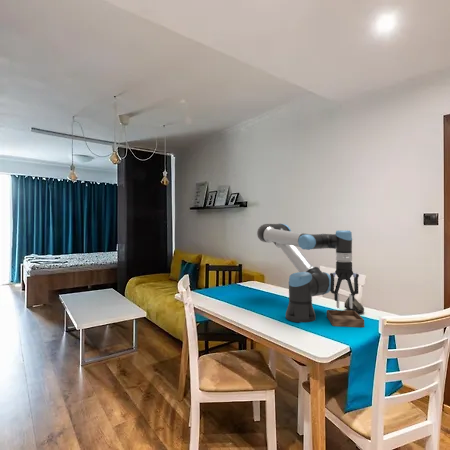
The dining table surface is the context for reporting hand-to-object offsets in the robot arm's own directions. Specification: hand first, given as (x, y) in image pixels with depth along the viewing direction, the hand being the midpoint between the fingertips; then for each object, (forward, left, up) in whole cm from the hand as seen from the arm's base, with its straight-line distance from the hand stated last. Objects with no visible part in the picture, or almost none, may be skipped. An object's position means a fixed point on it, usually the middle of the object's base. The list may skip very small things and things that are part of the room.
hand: (344, 307), depth 148 cm
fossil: (+11, +18, -8) cm, 23 cm away
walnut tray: (0, 0, -7) cm, 7 cm away
